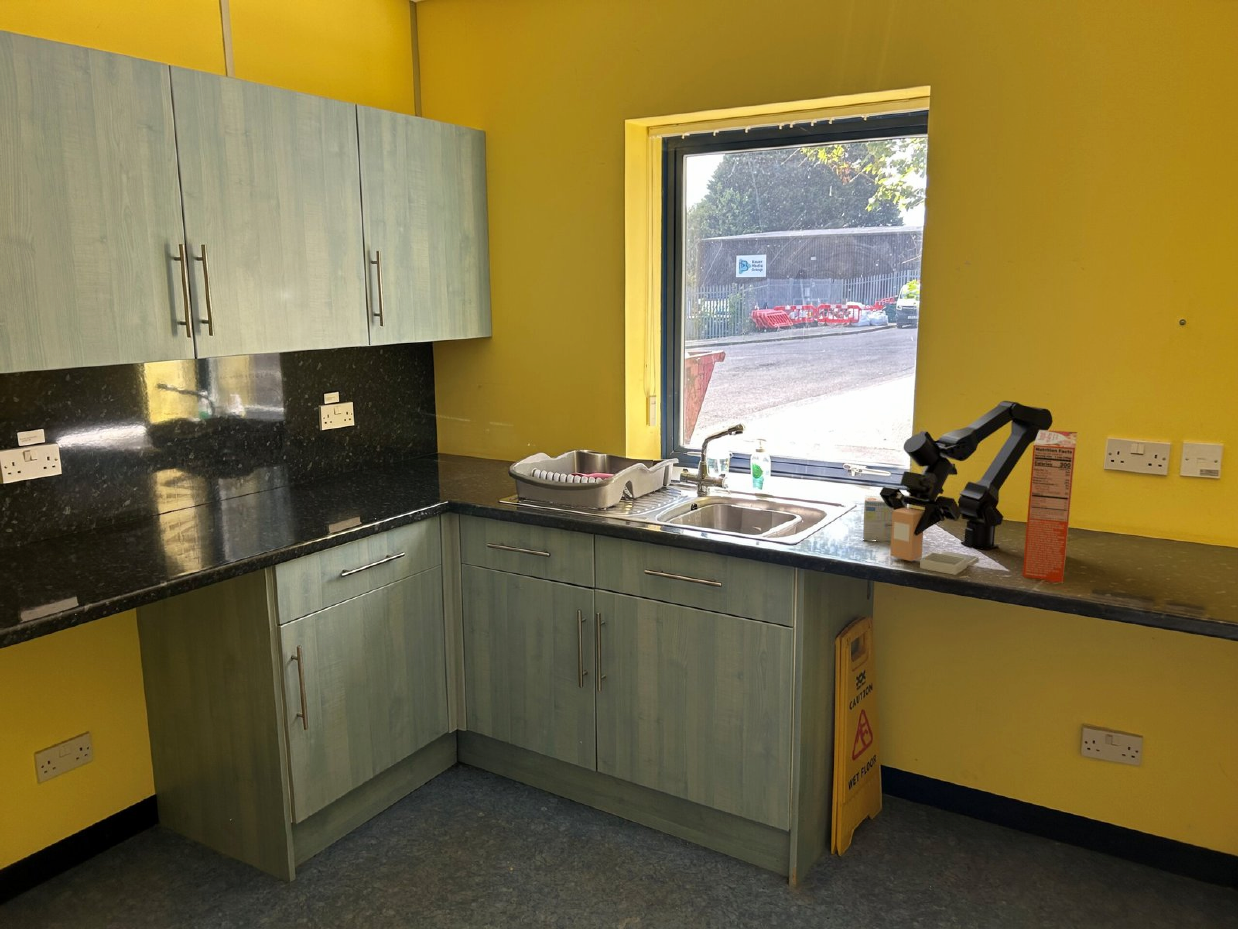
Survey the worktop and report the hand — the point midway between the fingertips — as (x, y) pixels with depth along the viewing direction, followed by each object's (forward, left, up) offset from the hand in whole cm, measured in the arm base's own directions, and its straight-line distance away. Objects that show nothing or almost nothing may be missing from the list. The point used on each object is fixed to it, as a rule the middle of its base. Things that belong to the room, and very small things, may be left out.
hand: (904, 532), depth 215 cm
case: (-6, +7, -7) cm, 12 cm away
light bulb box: (-9, -19, -8) cm, 22 cm away
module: (-1, 0, -6) cm, 6 cm away
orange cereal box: (-29, +14, -8) cm, 33 cm away
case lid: (-13, +3, -7) cm, 15 cm away
